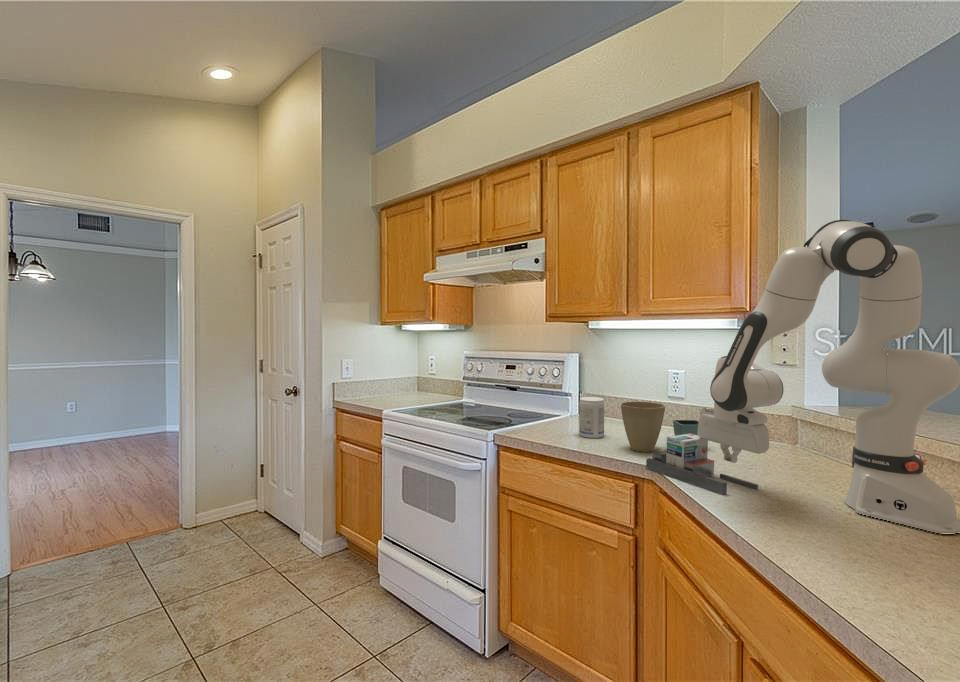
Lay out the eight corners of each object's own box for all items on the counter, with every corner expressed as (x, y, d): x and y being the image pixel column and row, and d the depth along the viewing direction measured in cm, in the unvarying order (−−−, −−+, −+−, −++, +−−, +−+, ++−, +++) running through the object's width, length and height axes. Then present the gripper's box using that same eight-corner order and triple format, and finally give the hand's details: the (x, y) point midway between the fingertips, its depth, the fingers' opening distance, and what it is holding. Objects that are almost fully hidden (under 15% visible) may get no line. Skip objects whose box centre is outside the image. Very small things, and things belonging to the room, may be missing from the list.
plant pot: (662, 445, 181) (663, 402, 180) (666, 456, 166) (667, 409, 166) (619, 442, 185) (620, 400, 184) (619, 453, 170) (620, 406, 170)
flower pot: (671, 443, 184) (672, 419, 184) (695, 443, 184) (696, 419, 184) (680, 449, 175) (681, 424, 175) (705, 450, 175) (706, 424, 175)
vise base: (758, 489, 135) (758, 471, 135) (728, 496, 129) (728, 478, 129) (674, 462, 159) (675, 448, 159) (646, 468, 153) (646, 453, 153)
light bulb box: (683, 478, 144) (684, 441, 143) (664, 472, 150) (665, 436, 149) (708, 473, 149) (709, 437, 148) (689, 467, 155) (690, 432, 154)
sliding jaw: (713, 475, 145) (714, 460, 145) (692, 480, 141) (693, 464, 141) (704, 472, 148) (705, 458, 148) (684, 477, 144) (684, 462, 143)
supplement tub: (597, 432, 201) (598, 396, 201) (608, 438, 192) (609, 400, 191) (574, 433, 199) (575, 397, 198) (585, 439, 190) (585, 400, 189)
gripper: (692, 407, 147) (692, 453, 148) (757, 420, 129) (756, 473, 129) (707, 405, 150) (707, 450, 151) (773, 418, 131) (772, 469, 132)
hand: (730, 461), depth 140 cm, fingers closed
